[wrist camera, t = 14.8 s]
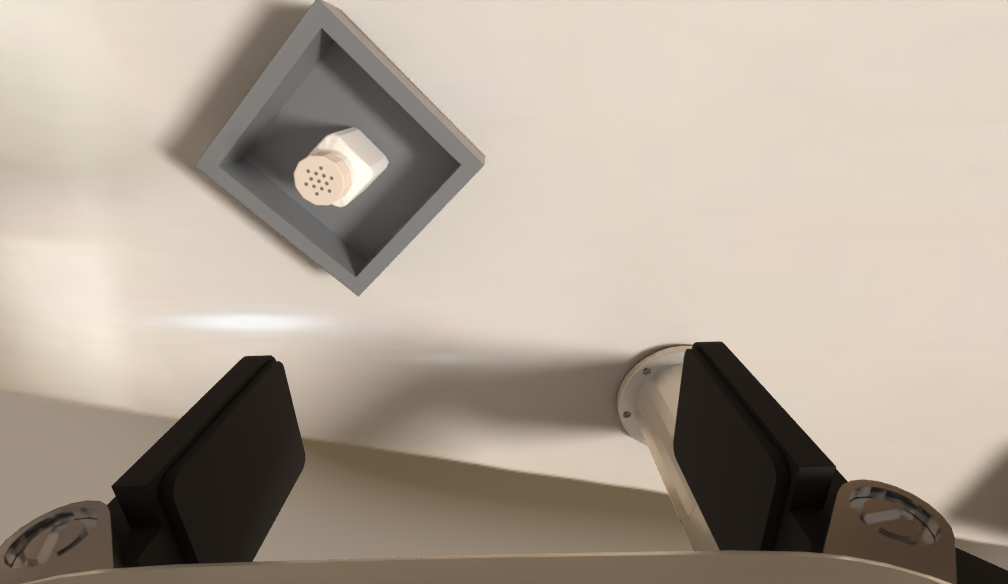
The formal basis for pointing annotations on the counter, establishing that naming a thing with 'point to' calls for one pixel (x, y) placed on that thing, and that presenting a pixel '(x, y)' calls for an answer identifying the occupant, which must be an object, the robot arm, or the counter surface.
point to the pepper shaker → (339, 168)
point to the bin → (328, 109)
